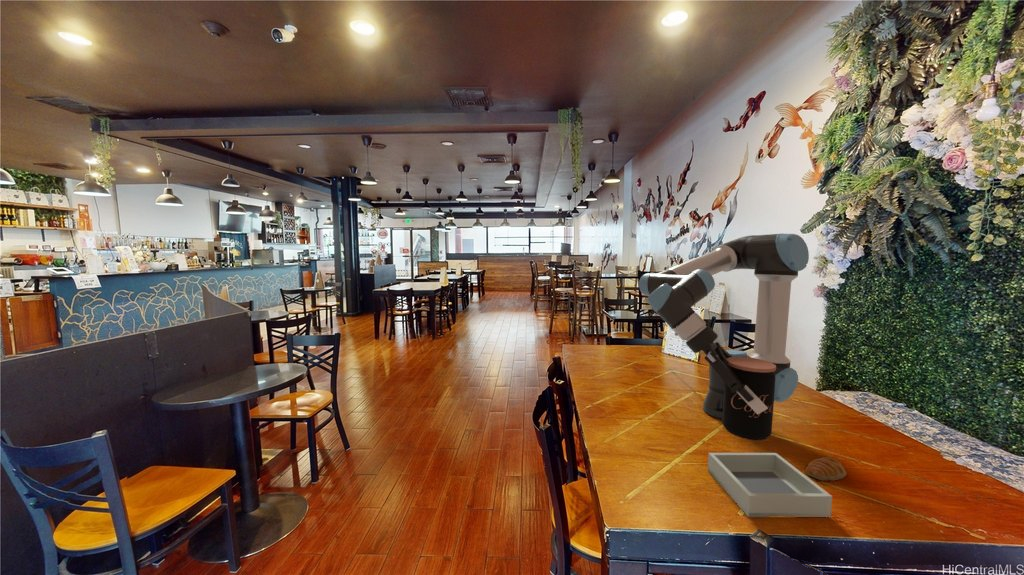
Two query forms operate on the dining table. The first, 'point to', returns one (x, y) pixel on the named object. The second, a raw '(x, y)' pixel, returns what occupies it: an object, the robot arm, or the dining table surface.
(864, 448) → the dining table surface
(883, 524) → the dining table surface
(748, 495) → the tray
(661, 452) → the dining table surface
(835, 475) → the pastry
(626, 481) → the dining table surface
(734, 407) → the coffee jar
